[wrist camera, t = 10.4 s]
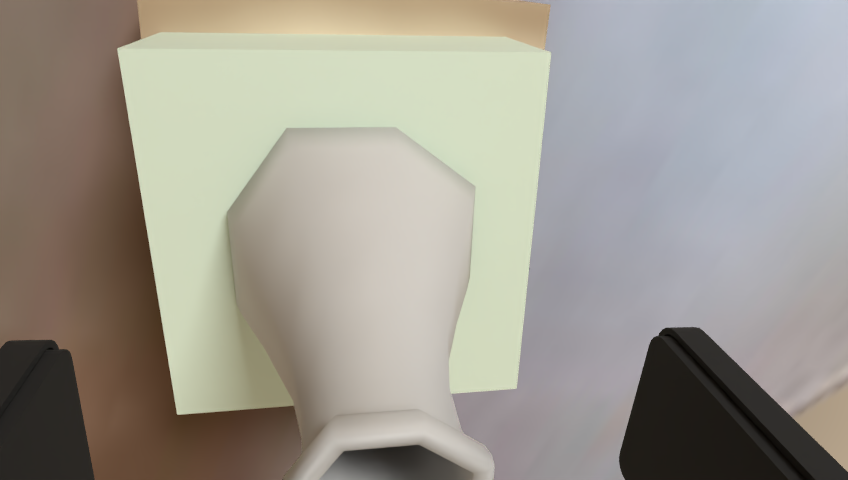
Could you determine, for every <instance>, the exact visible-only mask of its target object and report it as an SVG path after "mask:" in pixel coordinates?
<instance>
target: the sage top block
mask: <svg viewBox="0 0 848 480" xmlns="http://www.w3.org/2000/svg"><path fill="white" fill-rule="evenodd" d="M117 50H118V56H119V62H120V68H121V74H122V80H123V86H124V93H125V99H126V105H127V111H128V117H129V123H130V129H131V135H132V142H133V148H134V154H135V160H136V166H137V172H138V178H139V184H140V191H141V197H142V203H143V209H144V215H145V221H146V227H147V233H148V240H149V246H150V252H151V258H152V264H153V270H154V276H155V282H156V288H157V295H158V301H159V307H160V313H161V319H162V325H163V331H164V337H165V344H166V350H167V356H168V362H169V368H170V374H171V380H172V386H173V393H174V399H175V405H176V411H177V415H180V414H193V413H206V412H219V411H232V410H245V409H258V408H271V407H284V406H294V403H293V400H292V398H291V396H290V394H289V393H288V391H287V389H286V387H285V385H284V383H283V382H282V380H281V378H280V376H279V374H278V372H277V371H276V369H275V367H274V365H273V363H272V361H271V360H270V358H269V356H268V354H267V352H266V350H265V349H264V347H263V346H262V344H261V343H260V341H259V340H258V338H257V337H256V335H255V334H254V332H253V331H252V329H251V328H250V326H249V325H248V323H247V322H246V320H245V319H244V317H243V316H242V314H241V312H240V310H239V308H238V306H237V304H236V294H235V284H234V275H233V265H232V256H231V246H230V237H229V227H228V218H227V211H228V210H229V209H230V207H231V206H232V204H233V203H234V201H235V200H236V199H237V197H238V196H239V194H240V193H241V192H242V190H243V189H244V187H245V186H246V185H247V183H248V182H249V180H250V179H251V177H252V176H253V175H254V173H255V172H256V170H257V169H258V168H259V166H260V165H261V163H262V162H263V161H264V159H265V158H266V156H267V155H268V154H269V152H270V151H271V149H272V148H273V146H274V145H275V144H276V142H277V141H278V139H279V138H280V137H281V135H282V134H283V132H284V131H285V130H286V128H347V127H396V128H398V129H399V130H400V131H402V132H403V133H404V134H406V135H407V136H409V137H410V138H411V139H413V140H414V141H415V142H417V143H418V144H419V145H421V146H422V147H423V148H425V149H426V150H427V151H429V152H430V153H431V154H433V155H434V156H435V157H437V158H438V159H439V160H441V161H442V162H443V163H445V164H446V165H447V166H449V167H450V168H451V169H453V170H454V171H455V172H457V173H458V174H460V175H461V176H462V177H464V178H465V179H466V180H468V181H469V182H470V183H472V184H473V185H474V186H476V188H475V204H474V220H473V236H472V251H471V267H470V279H469V283H468V288H467V291H466V295H465V298H464V301H463V305H462V308H461V311H460V315H459V318H458V321H457V325H456V329H455V334H454V339H453V343H452V348H451V353H450V357H449V385H450V391H451V394H453V393H466V392H479V391H492V390H505V389H517V379H518V369H519V360H520V350H521V340H522V331H523V321H524V311H525V302H526V292H527V282H528V272H529V263H530V253H531V243H532V234H533V224H534V214H535V205H536V195H537V185H538V175H539V166H540V156H541V146H542V137H543V127H544V117H545V108H546V98H547V88H548V78H549V69H550V59H551V52H548V51H545V50H543V49H540V48H537V47H534V46H531V45H528V44H525V43H522V42H519V41H516V40H514V39H511V38H508V37H489V36H413V35H337V34H260V33H184V32H160V33H157V34H154V35H152V36H149V37H146V38H144V39H141V40H138V41H136V42H133V43H131V44H128V45H125V46H123V47H120V48H117Z"/></svg>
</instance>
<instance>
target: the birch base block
mask: <svg viewBox="0 0 848 480" xmlns="http://www.w3.org/2000/svg"><path fill="white" fill-rule="evenodd" d="M137 5H138V14H139V24H140V34H141V39H144V38H146V37H149V36H152V35H154V34H157V33H160V32H184V33H260V34H337V35H413V36H489V37H508V38H511V39H514V40H516V41H519V42H522V43H525V44H528V45H531V46H534V47H537V48H540V49H543V50H544V49H545V41H546V34H547V27H548V20H549V12H550V5H548V4H541V3H534V2H527V1H520V0H137Z"/></svg>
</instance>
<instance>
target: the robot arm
mask: <svg viewBox="0 0 848 480" xmlns="http://www.w3.org/2000/svg"><path fill="white" fill-rule="evenodd" d="M619 463H620V468H621V472H622V474H623V477H624V478H625V480H848V472H847V471H846V470H845V469H844V468H843V467H842V466H841V465H840V464H839V463H838V462H837V461H836V460H835V459H834V458H833V457H832V456H831V455H830V454H829V453H828V452H827V451H826V450H824V448H823V447H821V446H820V445H819V444H818V443H817V442H816V441H815V440H814V439H813V438H812V437H811V436H810V435H809V434H808V433H807V432H806V431H805V430H804V429H803V428H802V427H801V426H800V425H799V424H798V423H797V422H796V421H795V420H794V419H793V418H792V417H791V416H790V415H789V414H788V413H787V412H786V411H785V410H784V409H783V408H782V407H781V406H780V405H779V404H778V403H776V402H775V401H774V400H773V399H772V398H771V397H770V396H769V395H768V394H767V393H766V392H765V391H764V390H763V389H762V388H761V387H760V386H759V385H758V384H757V383H756V382H755V381H754V380H753V379H752V378H751V377H750V376H749V375H748V374H747V373H746V372H745V371H744V370H743V369H742V368H741V367H740V366H739V365H738V364H737V363H736V362H735V361H734V360H732V359H731V358H730V357H729V356H728V355H727V354H726V353H725V352H724V351H723V350H722V349H721V348H720V347H719V346H718V345H717V344H716V343H715V342H714V341H713V340H712V339H711V338H710V337H709V336H708V335H707V334H706V333H705V332H704V331H703V330H701V329H700V328H696V327H682V328H665V329H663V330H662V331H661V332H660V333H659V336H656V337H654V338H653V339H652V340H651V342H650V345H649V348H648V352H647V356H646V359H645V363H644V367H643V370H642V374H641V378H640V381H639V385H638V389H637V392H636V396H635V400H634V403H633V407H632V411H631V414H630V418H629V422H628V425H627V429H626V433H625V436H624V440H623V444H622V447H621V451H620V456H619ZM0 480H94V474H93V469H92V463H91V458H90V453H89V447H88V442H87V436H86V431H85V426H84V420H83V415H82V410H81V404H80V399H79V393H78V388H77V383H76V377H75V372H74V366H73V361H72V357H71V354H70V352H69V351H68V350H66V349H61V350H59V348H58V346H57V344H56V342H55V341H53V340H18V341H8V342H6V343H5V344H4V345H3V346H2V347H1V349H0Z"/></svg>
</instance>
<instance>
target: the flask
mask: <svg viewBox="0 0 848 480" xmlns="http://www.w3.org/2000/svg"><path fill="white" fill-rule="evenodd" d="M475 188H476V186H474V185H473V184H472V183H470V182H469V181H468V180H466V179H465V178H464V177H462V176H461V175H460V174H458V173H457V172H455V171H454V170H453V169H451V168H450V167H449V166H447V165H446V164H445V163H443V162H442V161H441V160H439V159H438V158H437V157H435V156H434V155H433V154H431V153H430V152H429V151H427V150H426V149H425V148H423V147H422V146H421V145H419V144H418V143H417V142H415V141H414V140H413V139H411V138H410V137H409V136H407V135H406V134H404V133H403V132H402V131H400V130H399V129H398V128H396V127H347V128H286V130H285V131H284V132H283V134H282V135H281V137H280V138H279V139H278V141H277V142H276V144H275V145H274V146H273V148H272V149H271V151H270V152H269V154H268V155H267V156H266V158H265V159H264V161H263V162H262V163H261V165H260V166H259V168H258V169H257V170H256V172H255V173H254V175H253V176H252V177H251V179H250V180H249V182H248V183H247V185H246V186H245V187H244V189H243V190H242V192H241V193H240V194H239V196H238V197H237V199H236V200H235V201H234V203H233V204H232V206H231V207H230V209H229V210H228V211H227V218H228V227H229V237H230V246H231V256H232V265H233V275H234V284H235V294H236V304H237V306H238V308H239V310H240V312H241V314H242V316H243V317H244V319H245V320H246V322H247V323H248V325H249V326H250V328H251V329H252V331H253V332H254V334H255V335H256V337H257V338H258V340H259V341H260V343H261V344H262V346H263V347H264V349H265V350H266V352H267V354H268V356H269V358H270V360H271V361H272V363H273V365H274V367H275V369H276V371H277V372H278V374H279V376H280V378H281V380H282V382H283V383H284V385H285V387H286V389H287V391H288V393H289V394H290V396H291V398H292V400H293V403H294V408H295V412H296V417H297V421H298V426H299V430H300V435H301V439H302V453H301V456H300V457H299V458H298V459H297V461H296V462H295V463H294V464H293V465H292V467H291V468H290V469H289V470H288V471H287V473H286V474H285V475H284V477H283V479H282V480H493V479H494V468H495V465H494V462H493V458H492V454H491V453H490V452H489V451H488V449H487V448H486V447H485V445H483V444H482V443H480V442H478V441H476V440H474V439H473V438H471V437H469V436H467V435H465V434H464V433H463V431H462V429H461V426H460V423H459V419H458V416H457V412H456V409H455V405H454V401H453V398H452V394H451V391H450V385H449V357H450V353H451V348H452V343H453V339H454V334H455V329H456V325H457V321H458V318H459V315H460V311H461V308H462V305H463V301H464V298H465V295H466V291H467V288H468V283H469V279H470V267H471V251H472V236H473V220H474V204H475Z"/></svg>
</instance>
